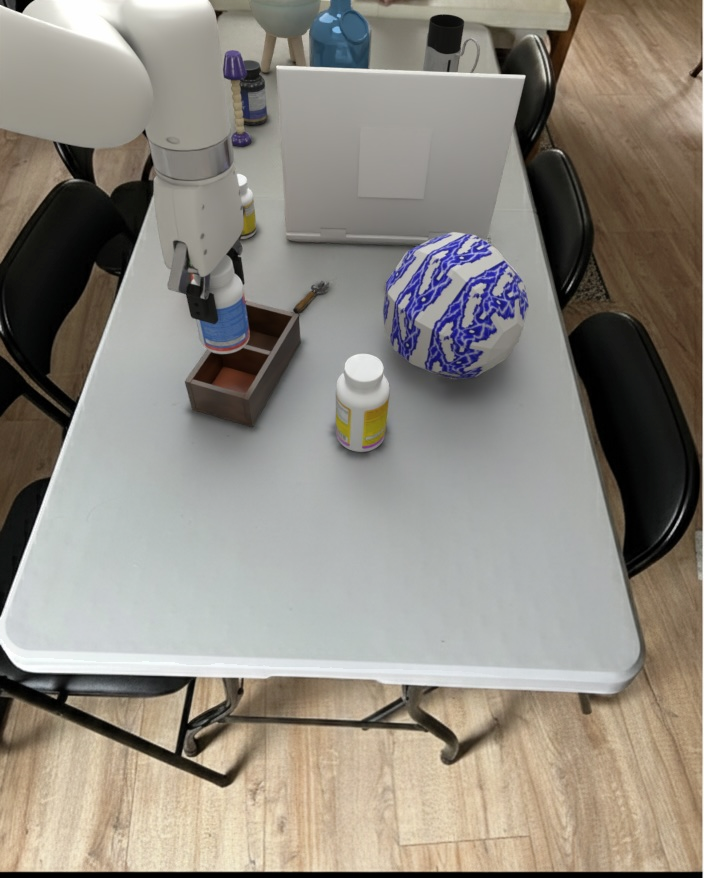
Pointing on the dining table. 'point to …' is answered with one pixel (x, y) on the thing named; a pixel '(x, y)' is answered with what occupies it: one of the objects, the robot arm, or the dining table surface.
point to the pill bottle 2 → (253, 95)
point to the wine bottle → (340, 38)
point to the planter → (284, 25)
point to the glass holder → (445, 44)
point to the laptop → (392, 152)
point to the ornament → (454, 306)
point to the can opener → (310, 296)
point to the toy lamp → (236, 93)
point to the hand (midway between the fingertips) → (218, 300)
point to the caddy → (246, 367)
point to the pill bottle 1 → (225, 311)
